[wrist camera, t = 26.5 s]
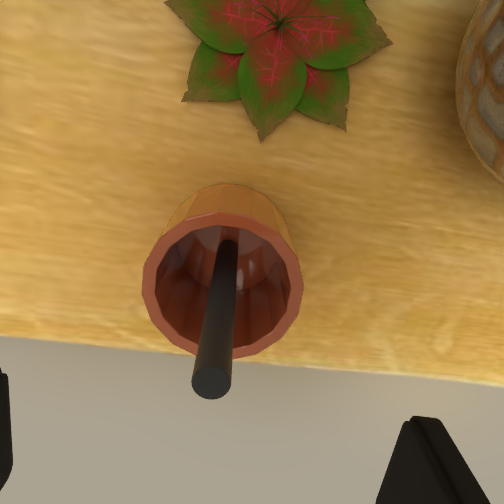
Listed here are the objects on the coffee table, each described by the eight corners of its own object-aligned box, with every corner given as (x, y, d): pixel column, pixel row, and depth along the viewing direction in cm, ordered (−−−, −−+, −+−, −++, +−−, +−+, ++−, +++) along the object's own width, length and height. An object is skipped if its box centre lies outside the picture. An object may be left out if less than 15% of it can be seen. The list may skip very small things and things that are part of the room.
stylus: (239, 238, 25) (233, 369, 12) (236, 257, 25) (228, 402, 13) (219, 235, 25) (193, 364, 12) (217, 254, 25) (189, 397, 13)
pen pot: (298, 193, 24) (317, 225, 18) (276, 303, 27) (287, 368, 20) (175, 175, 24) (148, 201, 17) (164, 288, 26) (137, 349, 20)
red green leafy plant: (152, 126, 23) (130, 130, 19) (175, -144, 19) (155, -216, 15) (362, 162, 24) (388, 175, 19) (425, -89, 20) (476, -143, 16)
